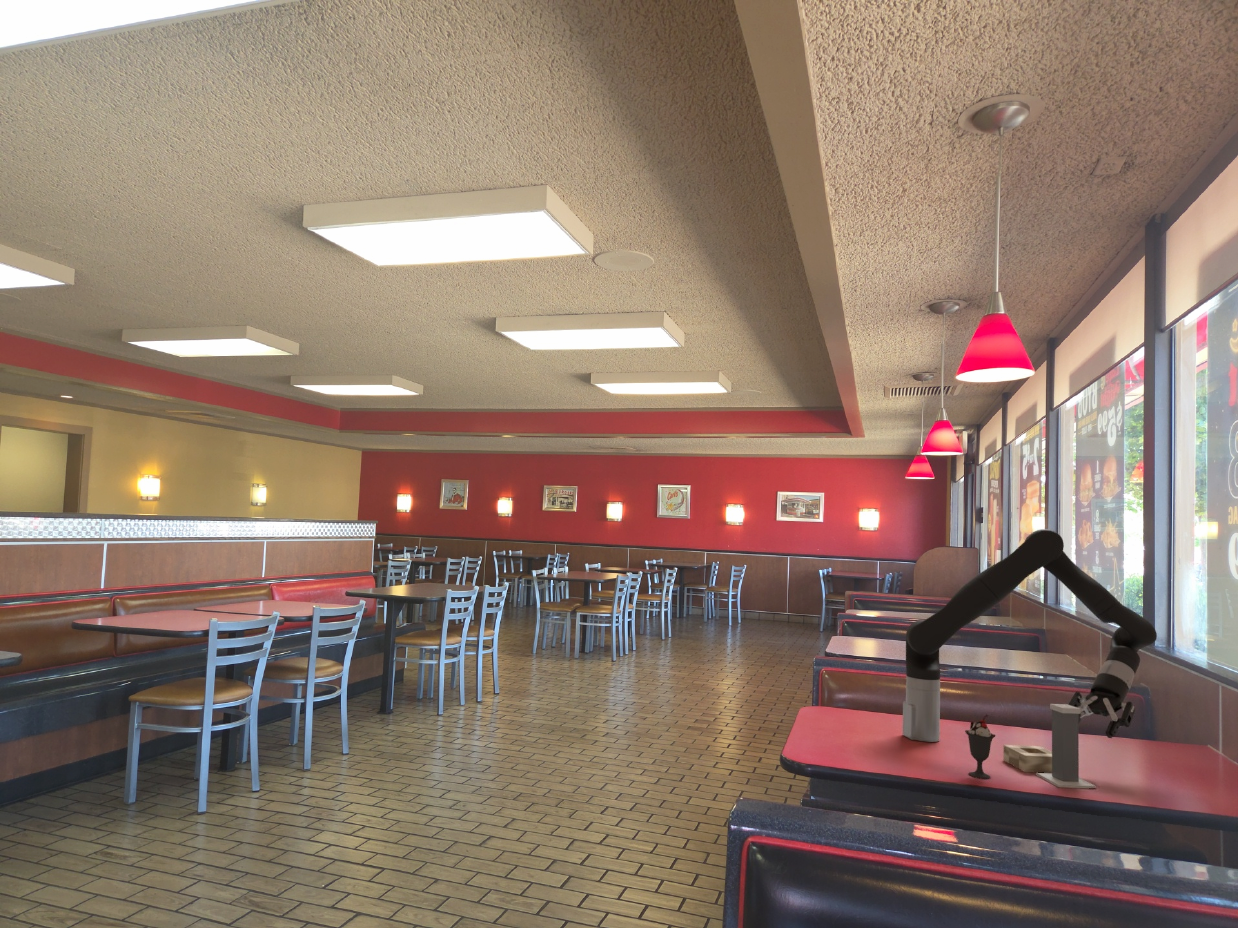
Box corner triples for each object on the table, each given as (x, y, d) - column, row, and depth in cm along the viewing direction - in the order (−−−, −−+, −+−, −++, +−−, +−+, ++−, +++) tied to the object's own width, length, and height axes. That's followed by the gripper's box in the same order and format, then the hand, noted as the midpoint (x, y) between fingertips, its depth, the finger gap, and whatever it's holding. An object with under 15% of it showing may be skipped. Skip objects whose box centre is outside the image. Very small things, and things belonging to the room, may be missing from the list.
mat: (1058, 787, 181) (1058, 784, 181) (1036, 775, 190) (1036, 772, 190) (1095, 788, 181) (1095, 785, 182) (1072, 776, 190) (1072, 774, 190)
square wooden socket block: (1024, 771, 193) (1024, 755, 193) (1003, 760, 203) (1003, 744, 203) (1063, 773, 193) (1063, 756, 193) (1040, 761, 203) (1040, 746, 203)
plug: (1062, 781, 184) (1062, 707, 185) (1050, 775, 188) (1049, 703, 190) (1080, 782, 184) (1080, 708, 186) (1067, 775, 189) (1067, 704, 190)
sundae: (993, 781, 183) (993, 717, 184) (962, 776, 186) (963, 712, 188) (996, 775, 188) (997, 712, 190) (966, 769, 192) (967, 708, 193)
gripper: (1079, 667, 205) (1055, 715, 198) (1138, 677, 193) (1115, 728, 186) (1089, 686, 207) (1067, 734, 200) (1148, 697, 195) (1126, 748, 188)
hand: (1090, 731), depth 193 cm, fingers open, 8 cm apart
